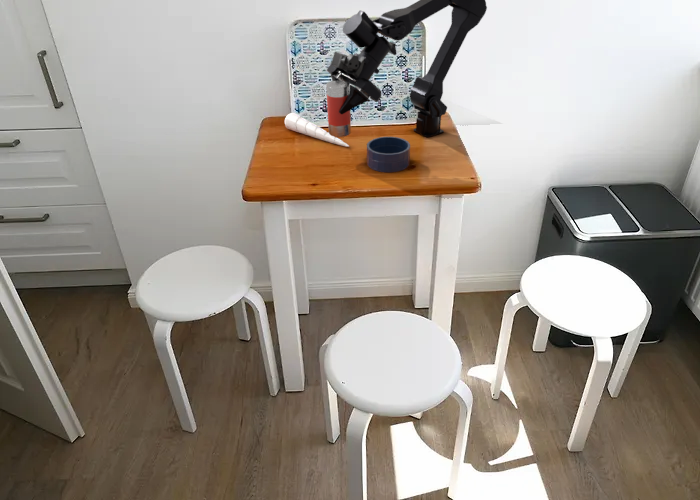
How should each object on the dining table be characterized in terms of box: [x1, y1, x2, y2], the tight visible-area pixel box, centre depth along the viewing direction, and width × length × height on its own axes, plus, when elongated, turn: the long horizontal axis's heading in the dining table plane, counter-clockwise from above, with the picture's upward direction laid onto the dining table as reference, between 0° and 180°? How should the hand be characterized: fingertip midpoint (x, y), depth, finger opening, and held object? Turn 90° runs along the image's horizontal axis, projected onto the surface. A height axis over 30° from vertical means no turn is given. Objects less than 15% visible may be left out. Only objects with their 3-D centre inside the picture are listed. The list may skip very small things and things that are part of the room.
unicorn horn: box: [284, 112, 350, 148], centre depth 165 cm, size 5×24×5 cm, turn 45°
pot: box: [366, 136, 411, 173], centre depth 151 cm, size 11×11×5 cm
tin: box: [325, 80, 352, 138], centre depth 148 cm, size 6×6×13 cm
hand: (334, 109), depth 148 cm, fingers closed on tin, 6 cm apart
